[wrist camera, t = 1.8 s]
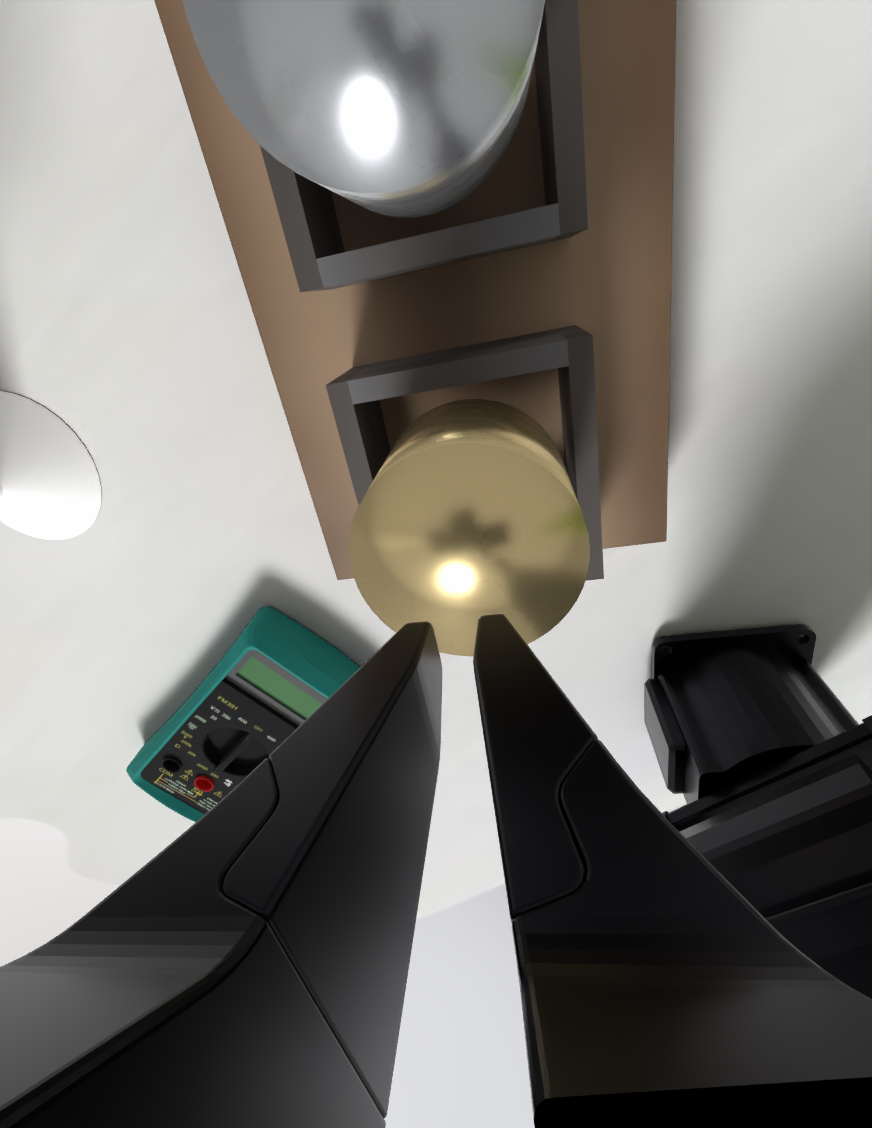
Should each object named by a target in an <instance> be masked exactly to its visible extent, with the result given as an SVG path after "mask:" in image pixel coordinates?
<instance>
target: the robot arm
mask: <svg viewBox="0 0 872 1128" xmlns="http://www.w3.org/2000/svg"><path fill="white" fill-rule="evenodd" d="M800 635H804V636H803V637H801V638H798V637H799V636H800ZM797 638H798V639H797ZM815 641H816V635H815V633H814V632H813V631H812V630H811V629H810V628H809V626H806V625H802V624H798V625H787V626H776V627H764V628H753V629H742V630H730V631H719V632H708V633H696V634H685V635H674V636H663V637H659V638H658V639H656V640H655V641H654V642H653V644H652V679H648V680H647V681H646V682H645V684H644V712H645V724H646V727H647V730H648V733H649V736H650V739H651V742H652V745H653V748H654V751H655V754H656V757H657V760H658V763H659V766H660V769H661V772H662V775H663V778H664V780H665V783H666V786H667V789H669V790H670V791H671V792H672V793H674V794H677V793H683V794H684V797H685V800H686V802H687V805H685V806H683V807H681V808H678V809H676V810H674V811H672V812H670V813H668V812H667V811H665V812H663V813H661V812H660V811H659V810H658V809H657V808H656V807H655V806H654V805H653V804H652V803H651V801H650V800H649V799H648V798H647V797H646V796H645V795H644V794H643V793H642V792H641V791H640V790H639V788H638V787H637V786H636V785H635V784H634V782H633V781H632V780H631V779H630V777H629V776H628V775H627V774H626V773H625V771H624V770H623V769H622V768H621V766H620V765H619V764H618V763H617V762H616V760H615V759H614V758H613V756H612V755H611V754H610V752H609V751H608V750H607V749H606V747H605V746H604V745H603V743H602V742H601V741H600V740H598V738H597V736H596V734H595V733H594V732H593V731H592V729H591V728H590V727H589V725H588V724H587V723H586V721H585V720H584V719H583V717H582V716H581V715H580V713H579V712H578V711H577V710H576V708H575V707H574V706H573V704H572V703H571V702H570V700H569V699H568V698H567V696H566V695H565V694H564V692H563V691H562V690H561V688H560V687H559V686H558V685H557V683H556V682H555V681H554V679H553V678H552V677H551V675H550V674H549V673H548V671H547V670H546V669H545V667H544V666H543V665H542V663H541V662H540V661H539V660H538V658H537V657H536V656H535V654H534V653H533V652H532V650H531V649H530V648H529V646H528V645H527V644H526V642H525V641H524V640H523V638H522V637H521V636H520V635H519V633H518V632H517V631H516V629H515V628H514V627H513V625H512V624H511V623H510V621H509V620H508V619H507V617H506V616H505V615H503V614H493V615H483V616H480V617H479V619H478V624H477V632H476V640H475V648H474V659H473V664H474V674H475V680H476V687H477V694H478V701H479V708H480V714H481V721H482V728H483V735H484V741H485V748H486V755H487V762H488V769H489V775H490V782H491V789H492V796H493V803H494V809H495V816H496V823H497V830H498V837H499V843H500V850H501V857H502V864H503V870H504V877H505V884H506V891H507V898H508V904H509V911H510V918H511V922H512V932H513V938H514V945H515V953H516V960H517V968H518V975H519V982H520V991H521V1000H522V1010H523V1020H524V1029H525V1039H526V1049H527V1059H528V1069H529V1078H530V1088H531V1098H532V1107H533V1118H534V1125H535V1128H872V715H871V716H869V717H867V718H865V719H863V720H862V721H863V722H864V723H862V724H860V725H859V724H858V722H857V721H856V720H855V719H854V718H853V716H852V715H851V714H850V713H849V711H848V710H847V709H846V708H845V706H844V705H843V704H842V703H841V702H840V700H839V699H838V698H837V697H836V695H835V694H834V693H833V692H832V690H831V689H830V688H829V687H828V686H827V684H826V683H825V682H824V681H823V679H822V678H821V677H820V676H819V674H818V673H817V672H816V671H815V670H814V668H813V667H812V666H811V663H812V658H813V652H814V647H815ZM665 646H668V647H669V648H667V649H665V650H661V649H662V648H663V647H665ZM441 703H442V665H441V659H440V655H439V650H438V646H437V641H436V637H435V633H434V629H433V626H432V624H431V623H430V622H429V621H423V622H413V623H407V624H405V625H404V626H403V627H402V628H401V629H400V630H399V631H398V632H397V633H396V634H395V635H394V636H393V637H392V638H391V639H389V640H388V641H387V642H386V643H385V644H384V645H383V646H382V647H381V648H380V649H379V650H378V651H377V652H376V653H375V654H374V655H373V656H372V657H371V658H370V659H369V660H368V661H367V662H366V663H365V664H364V665H363V666H361V667H360V668H359V669H358V670H357V671H356V672H355V673H354V674H353V675H352V676H351V677H350V678H349V679H348V680H347V681H346V682H345V683H344V684H343V685H342V686H341V687H340V688H339V689H338V690H337V691H336V692H334V693H333V694H332V695H331V696H330V697H329V698H328V699H327V700H326V701H325V702H324V703H323V704H322V705H321V706H320V707H319V708H318V709H317V710H316V711H315V712H314V713H313V714H312V715H311V716H310V717H309V718H308V719H306V720H305V721H304V722H303V723H302V724H301V725H300V726H299V727H298V728H297V729H296V730H295V731H294V732H293V733H292V734H291V735H290V736H289V737H288V738H287V739H286V740H285V741H284V742H283V743H282V744H281V745H280V746H278V747H277V748H276V749H275V750H274V751H273V752H272V753H271V754H270V759H265V760H264V761H263V762H262V763H261V764H260V765H259V766H257V767H256V768H255V769H254V770H253V771H252V772H251V773H250V774H249V775H248V776H247V777H246V778H245V779H244V780H243V781H242V782H241V783H240V784H238V785H237V786H236V787H235V788H234V789H233V790H232V791H231V792H230V793H229V794H228V795H227V796H225V797H224V798H223V799H222V800H221V801H220V802H219V803H218V804H217V805H216V806H215V807H213V808H212V809H211V810H210V811H209V812H208V813H206V814H205V815H204V816H203V817H202V818H201V819H199V820H198V821H197V822H196V823H195V824H194V825H192V826H191V827H190V828H189V829H188V830H187V831H185V832H184V833H183V834H182V835H181V836H180V837H178V838H177V839H176V840H175V841H174V842H172V843H171V844H170V845H169V846H168V847H166V848H165V849H164V850H163V851H162V852H160V853H159V854H158V855H157V856H156V857H154V858H153V859H152V860H151V861H150V862H148V863H147V864H146V865H145V866H144V867H142V868H141V869H140V870H139V871H138V872H136V873H135V874H134V875H133V876H131V877H130V878H129V879H128V880H127V881H125V882H124V883H123V884H122V885H121V886H119V887H118V888H117V889H116V890H115V891H113V892H112V893H111V894H110V895H109V896H107V897H106V898H105V899H104V900H103V901H101V902H100V903H99V904H98V905H97V906H95V907H94V908H93V909H92V910H91V911H89V912H88V913H87V914H86V915H85V916H83V917H82V918H81V919H79V920H78V921H77V922H76V923H74V924H73V925H72V926H70V927H69V928H68V929H67V930H65V931H64V932H62V933H61V934H59V935H58V936H56V937H55V938H54V939H52V940H50V941H49V942H48V943H46V944H44V945H43V946H41V947H39V948H37V949H35V950H34V951H32V952H30V953H28V954H27V955H25V956H23V957H21V958H19V959H17V960H14V961H12V962H10V963H8V964H6V965H4V966H1V967H0V1128H385V1125H386V1123H385V1120H384V1118H385V1117H386V1115H387V1109H388V1103H389V1096H390V1090H391V1083H392V1076H393V1069H394V1063H395V1056H396V1049H397V1043H398V1036H399V1029H400V1022H401V1016H402V1009H403V1003H404V995H405V989H406V983H407V976H408V969H409V963H410V955H411V949H412V943H413V936H414V929H415V923H416V916H417V909H418V902H419V896H420V889H421V882H422V876H423V869H424V862H425V856H426V849H427V842H428V836H429V829H430V822H431V816H432V809H433V802H434V796H435V789H436V782H437V775H438V768H439V760H440V743H441Z"/></svg>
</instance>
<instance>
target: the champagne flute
mask: <svg viewBox="0 0 872 1128" xmlns="http://www.w3.org/2000/svg"><path fill="white" fill-rule="evenodd" d="M100 506H101V485H100V480H99V475H98V473H97V470H96V467H95V465H94V462H93V460H92V458H91V457H90V455H89V453H88V451H87V449H86V448H85V446H84V445H83V443H82V442H81V441H80V440H79V438H78V437H77V436H76V434H75V433H74V432H73V431H72V430H71V429H70V428H69V427H68V426H67V425H66V424H65V423H64V422H63V421H62V420H61V419H60V418H58V417H57V416H56V415H54V414H53V413H52V412H50V411H49V410H48V409H46V408H45V407H43V406H41V405H39V404H37V403H36V402H34V401H32V400H30V399H28V398H25V397H22V396H19V395H17V394H14V393H9V392H3V391H0V521H1V522H3V523H4V524H6V525H7V526H9V527H11V528H13V529H15V530H17V531H19V532H21V533H24V534H27V535H30V536H33V537H37V538H43V539H48V540H63V539H67V538H72V537H75V536H77V535H79V534H81V533H83V532H84V531H86V530H87V529H88V528H89V527H90V526H91V525H92V524H93V522H94V521H95V519H96V517H97V516H98V513H99V509H100Z"/></svg>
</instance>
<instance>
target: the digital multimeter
mask: <svg viewBox="0 0 872 1128" xmlns="http://www.w3.org/2000/svg"><path fill="white" fill-rule="evenodd" d="M359 668H360V667H359V666H358V665H357V664H355V663H354V662H353V661H352V660H350V659H349V658H348V657H347V656H345V655H344V654H343V653H342V652H340V651H339V650H338V649H336V648H335V647H333V646H332V645H331V644H329V643H328V642H326V641H325V640H324V639H322V638H321V637H319V636H318V635H316V634H315V633H313V632H311V631H310V630H308V629H307V628H305V627H303V626H302V625H300V624H299V623H297V622H295V621H294V620H292V619H290V618H289V617H287V616H285V615H283V614H282V613H280V612H278V611H277V610H275V609H273V608H271V607H262V608H261V609H259V610H258V612H257V613H256V614H255V616H254V617H253V618H252V620H251V621H250V622H249V624H248V625H247V626H246V628H245V629H244V630H243V632H242V633H241V634H240V635H239V637H238V638H237V639H236V641H235V642H234V643H233V645H232V646H231V647H230V649H229V650H228V651H227V653H226V654H225V655H224V657H223V658H222V659H221V660H220V662H219V663H218V664H217V665H216V666H215V668H214V669H213V670H212V671H211V672H210V674H209V675H208V676H207V677H206V679H205V680H204V681H203V682H202V683H201V685H200V686H199V687H198V688H197V689H196V691H195V692H194V693H193V694H192V695H191V696H190V697H189V698H188V700H187V701H186V702H185V703H184V704H183V705H182V706H181V707H180V708H179V709H178V710H177V711H176V712H175V714H174V715H173V716H172V717H171V718H170V719H169V720H168V721H167V722H166V723H165V724H164V725H163V726H162V727H161V728H160V729H159V730H158V731H157V732H156V733H155V734H154V735H153V736H152V737H151V738H150V739H149V740H148V741H147V742H146V743H145V744H144V746H143V747H142V748H141V750H140V751H139V752H138V754H137V755H136V756H135V758H134V759H133V760H132V762H131V763H130V764H129V766H128V767H127V770H126V771H127V773H128V775H129V776H130V778H131V779H132V781H133V782H134V783H135V784H136V785H137V786H139V787H140V788H141V789H142V790H144V791H145V792H146V793H148V794H149V795H150V796H152V797H153V798H155V799H156V800H158V801H159V802H161V803H162V804H164V805H165V806H166V807H168V808H170V809H172V810H173V811H175V812H177V813H179V814H180V815H182V816H184V817H186V818H188V819H190V820H192V821H194V822H197V821H198V820H199V819H201V818H202V817H203V816H204V815H205V814H206V813H208V812H209V811H210V810H211V809H212V808H213V807H215V806H216V805H217V804H218V803H219V802H220V801H221V800H222V799H223V798H224V797H225V796H227V795H228V794H229V793H230V792H231V791H232V790H233V789H234V788H235V787H236V786H237V785H238V784H240V783H241V782H242V781H243V780H244V779H245V778H246V777H247V776H248V775H249V774H250V773H251V772H252V771H253V770H254V769H255V768H256V767H257V766H259V765H260V764H261V763H262V762H263V761H264V760H265V759H270V754H271V753H272V752H273V751H274V750H275V749H276V748H277V747H278V746H280V745H281V744H282V743H283V742H284V741H285V740H286V739H287V738H288V737H289V736H290V735H291V734H292V733H293V732H294V731H295V730H296V729H297V728H298V727H299V726H300V725H301V724H302V723H303V722H304V721H305V720H306V719H308V718H309V717H310V716H311V715H312V714H313V713H314V712H315V711H316V710H317V709H318V708H319V707H320V706H321V705H322V704H323V703H324V702H325V701H326V700H327V699H328V698H329V697H330V696H331V695H332V694H333V693H334V692H336V691H337V690H338V689H339V688H340V687H341V686H342V685H343V684H344V683H345V682H346V681H347V680H348V679H349V678H350V677H351V676H352V675H353V674H354V673H355V672H356V671H357V670H358V669H359ZM218 684H219V685H218ZM211 692H212V693H211ZM210 693H211V694H210ZM203 701H204V702H203ZM180 727H181V728H180ZM172 736H173V737H172ZM164 745H165V746H164ZM163 746H164V747H163ZM157 753H158V754H157ZM156 754H157V755H156Z"/></svg>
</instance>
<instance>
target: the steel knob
mask: <svg viewBox="0 0 872 1128" xmlns="http://www.w3.org/2000/svg"><path fill="white" fill-rule="evenodd" d="M182 1H183V5H184V9H185V13H186V17H187V20H188V23H189V26H190V28H191V31H192V34H193V37H194V40H195V43H196V46H197V48H198V51H199V53H200V55H201V57H202V59H203V62H204V64H205V66H206V68H207V70H208V73H209V75H210V77H211V78H212V80H213V82H214V84H215V85H216V87H217V89H218V91H219V92H220V94H221V96H222V98H223V99H224V101H225V103H226V104H227V105H228V107H229V108H230V110H231V111H232V112H233V114H234V115H235V117H236V118H237V119H238V121H239V122H240V123H241V125H242V126H243V127H244V128H245V129H246V130H247V131H248V132H249V134H250V135H251V136H252V137H253V138H254V139H255V140H256V141H257V143H258V144H260V145H261V146H262V147H263V148H264V149H265V150H266V151H268V152H269V153H270V154H271V155H272V156H273V157H274V158H275V159H277V160H278V161H280V162H281V163H282V164H284V165H285V166H287V167H288V168H290V169H291V170H293V171H294V172H296V173H297V174H299V175H301V176H303V177H305V178H307V179H309V180H311V181H313V182H315V183H317V184H319V185H321V186H323V187H325V188H327V189H329V190H331V191H333V192H334V193H336V194H338V195H340V196H342V197H344V198H346V199H348V200H350V201H352V202H354V203H356V204H358V205H360V206H362V207H364V208H366V209H368V210H370V211H373V212H376V213H379V214H382V215H387V216H393V217H420V216H426V215H430V214H434V213H437V212H440V211H443V210H445V209H447V208H449V207H451V206H453V205H455V204H457V203H458V202H460V201H461V200H463V199H464V198H466V197H467V196H469V195H470V194H471V193H472V192H473V191H474V190H476V189H477V188H478V187H479V186H480V185H481V184H482V183H483V182H484V181H485V180H486V179H487V178H488V176H489V175H490V174H491V173H492V172H493V171H494V169H495V168H496V166H497V165H498V163H499V162H500V160H501V159H502V157H503V156H504V154H505V153H506V151H507V149H508V147H509V145H510V143H511V141H512V139H513V137H514V135H515V133H516V130H517V127H518V125H519V122H520V120H521V117H522V114H523V110H524V107H525V103H526V99H527V95H528V90H529V85H530V79H531V74H532V69H533V63H534V58H535V53H536V47H537V42H538V37H539V31H540V26H541V20H542V15H543V10H544V4H545V0H182Z"/></svg>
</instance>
